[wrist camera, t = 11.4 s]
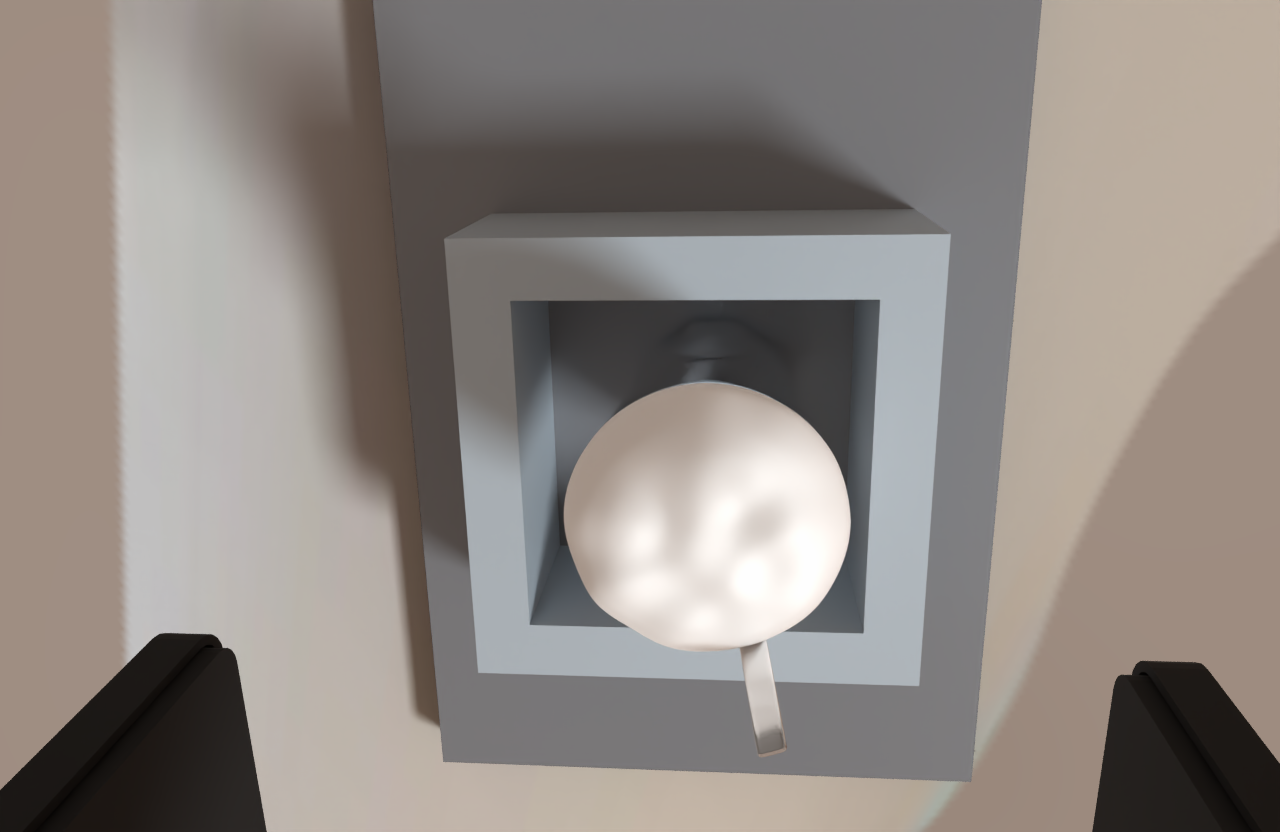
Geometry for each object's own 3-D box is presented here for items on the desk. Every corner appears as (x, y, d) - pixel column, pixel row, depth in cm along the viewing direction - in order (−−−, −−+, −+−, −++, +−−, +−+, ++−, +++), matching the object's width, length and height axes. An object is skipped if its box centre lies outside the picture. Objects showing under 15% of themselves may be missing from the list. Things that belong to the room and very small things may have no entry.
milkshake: (670, 528, 25) (630, 792, 16) (590, 327, 24) (495, 485, 14) (849, 473, 25) (921, 716, 15) (778, 261, 23) (807, 381, 14)
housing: (387, -32, 23) (292, -63, 18) (1030, -53, 22) (1116, -93, 17) (454, 735, 29) (397, 867, 24) (961, 753, 28) (1009, 896, 23)
